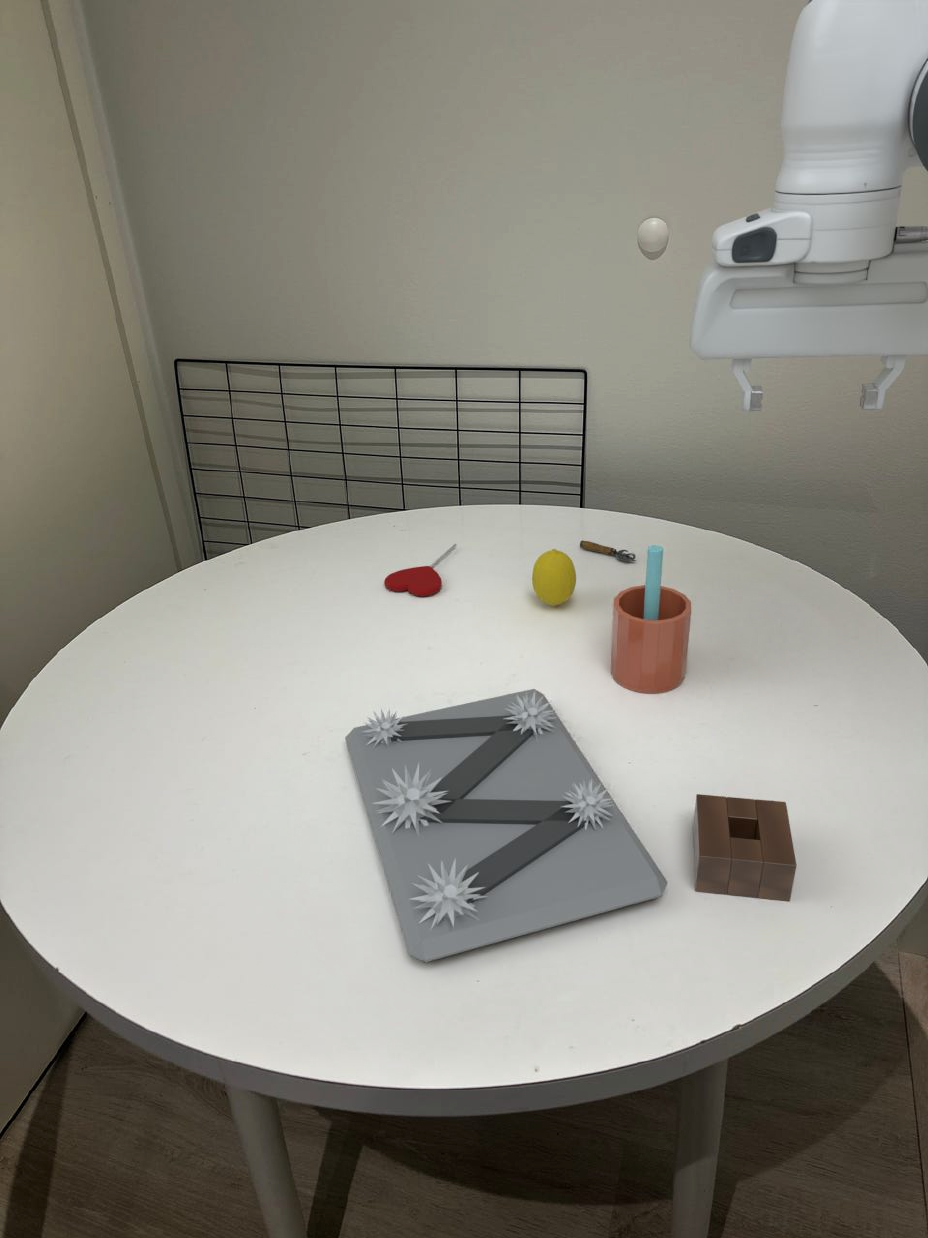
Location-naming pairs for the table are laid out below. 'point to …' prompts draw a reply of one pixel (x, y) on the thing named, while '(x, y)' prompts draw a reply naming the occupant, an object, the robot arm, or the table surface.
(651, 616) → the straw
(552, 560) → the lemon
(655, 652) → the cup
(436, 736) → the decorative plate
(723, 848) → the holder
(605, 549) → the can opener
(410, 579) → the lollipop
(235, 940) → the table surface
